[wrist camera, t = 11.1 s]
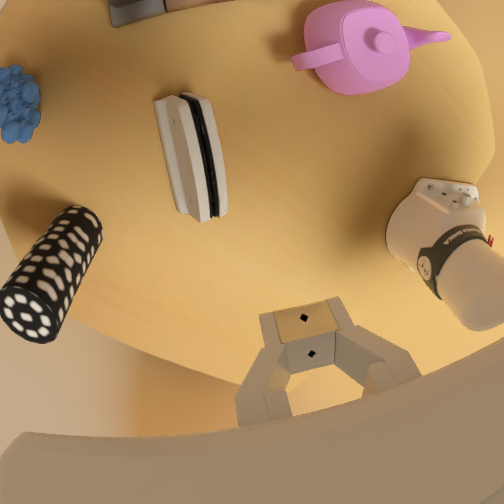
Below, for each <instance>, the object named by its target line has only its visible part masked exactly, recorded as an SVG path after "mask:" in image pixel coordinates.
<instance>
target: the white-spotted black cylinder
mask: <svg viewBox="0 0 504 504" xmlns="http://www.w3.org/2000/svg"><path fill="white" fill-rule="evenodd" d="M102 239H103V228H102V225H101V222H100V221H99V219H98V217H97V216H96V215H95V214H94V213H93V212H92V211H90V210H89V209H87V208H84V207H81V206H71V207H68V208H66V209H64V210H63V211H62V212H61V213H60V214H59V215H58V216H57V218H56V219H55V220H54V221H53V222H52V223H51V225H50V226H49V227H48V228H47V229H46V231H45V232H44V233H43V234H42V235H41V237H40V238H39V239H38V240H37V242H36V243H35V244H34V245H33V247H32V248H31V249H30V250H29V252H28V253H27V254H26V256H25V257H24V258H23V259H22V261H21V262H20V263H19V265H18V266H17V267H16V269H15V270H14V272H13V273H12V274H11V276H10V277H9V279H8V280H7V281H6V283H5V284H4V286H3V287H2V289H1V290H0V315H1V318H2V319H3V321H4V322H5V323H6V325H7V326H8V327H9V328H10V329H11V330H12V331H13V332H14V333H16V334H17V335H19V336H20V337H22V338H24V339H25V340H28V341H30V342H34V343H39V344H46V343H50V342H51V341H54V340H55V338H56V337H57V335H58V333H59V330H60V328H61V326H62V323H63V321H64V319H65V316H66V314H67V312H68V309H69V307H70V305H71V303H72V300H73V298H74V296H75V294H76V292H77V290H78V288H79V285H80V283H81V281H82V279H83V277H84V275H85V273H86V271H87V269H88V267H89V265H90V263H91V261H92V259H93V257H94V255H95V253H96V251H97V249H98V248H99V246H100V244H101V242H102Z"/></svg>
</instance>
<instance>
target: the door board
mask: <svg viewBox="0 0 504 504" xmlns="http://www.w3.org/2000/svg"><path fill="white" fill-rule="evenodd" d="M226 1H233V0H165V2H166V7H167V11H168V12H169V13H170V12H174V11H178V10H183V9H187V8H192V7H197V6H202V5H207V4H213V3H219V2H226ZM108 2H109V8H110V14H111V20H112V26H113V27H116V28H118V27H121V26H124V25H128V24H131V23H134V22H137V21H140V20H144V19H147V18H151V17H154V16H158V15H162V14H166V7H165V2H164V0H108Z"/></svg>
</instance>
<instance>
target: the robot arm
mask: <svg viewBox="0 0 504 504" xmlns="http://www.w3.org/2000/svg"><path fill="white" fill-rule="evenodd" d="M428 185H429V187H428ZM485 225H486V214H485V210H484V208H483V206H482V205H481V204H480V203H479V195H478V190H477V188H476V186H474V185H473V184H468V183H461V182H453V181H445V180H437V179H428V178H422V179H420V180H419V181H418V182H417V184H416V185H415V187H414V189H413V191H412V192H411V194H410V195H409V196H408V197H406V198H405V199H404V200H403V201H402V202H401V203H400V204H399V205H398V207H397V208H396V209H395V211H394V212H393V214H392V216H391V218H390V220H389V223H388V226H387V231H386V243H387V247H388V250H389V251H390V253H391V254H392V255H393V256H394V257H395V258H397V259H398V260H400V261H402V262H403V263H404V264H406V266H407V267H408V268H409V269H410V270H411V271H413V272H416V273H417V274H418V275H419V276H420V277H421V278H422V279H423V280H424V282H425V283H426V285H427V286H428V287H429V288H430V290H431V291H432V292H433V293H434V295H436V296H437V297H438V298H439V299H440V300H443V301H444V302H445V303H446V304H447V306H448V307H449V308H450V310H451V311H452V312H453V313H454V315H455V316H456V317H457V318H458V320H459V321H460V322H461V323H462V325H463V326H465V327H466V328H467V329H469V330H472V331H486V330H489V329H492V328H494V327H496V326H498V325H500V324H502V323H504V257H503V256H501V255H500V254H499V253H497V252H496V251H495V250H494V249H492V244H493V239H494V238H492V241H491V235H489V238H488V242H487V241H486V239H485V237H484V232H485ZM490 243H491V244H490ZM259 320H260V325H261V329H262V334H263V339H264V344H265V348H261V350H260V352H259V354H258V356H257V358H256V359H255V361H254V363H253V365H252V367H251V369H250V370H249V372H248V374H247V376H246V378H245V379H244V381H243V383H242V385H241V387H240V388H239V390H238V392H237V394H236V395H235V403H236V411H237V419H238V427H235V428H228V429H222V430H214V431H206V432H197V433H186V434H175V435H162V436H161V435H160V436H138V437H90V436H89V437H88V436H69V435H56V434H45V433H36V432H24V433H21V434H20V435H19V436H18V437H17V438H16V439H15V440H14V441H13V442H12V443H11V444H10V445H9V446H8V447H7V449H6V450H5V451H4V452H3V454H2V455H1V458H0V504H504V337H503V338H501V339H499V340H498V341H496V342H494V343H492V344H490V345H488V346H486V347H484V348H482V349H480V350H479V351H477V352H475V353H473V354H471V355H469V356H467V357H464V358H462V359H460V360H458V361H456V362H454V363H452V364H449V365H447V366H445V367H443V368H440V369H438V370H436V371H433V372H431V373H429V374H426V375H424V376H422V375H421V373H420V371H419V369H418V368H417V366H416V364H415V362H414V361H413V359H412V357H411V356H410V354H409V352H408V351H406V350H404V349H402V348H400V347H399V346H396V345H394V344H393V343H391V342H389V341H387V340H385V339H383V338H382V337H380V336H378V335H376V334H374V333H372V332H370V331H368V330H366V329H365V328H363V327H361V326H359V325H357V326H354V324H353V322H352V320H351V318H350V316H349V314H348V313H347V311H346V309H345V307H344V305H343V303H342V301H341V299H340V298H339V297H334V298H330V299H326V300H323V301H319V302H314V303H310V304H306V305H302V306H298V307H293V308H288V309H283V310H278V311H273V312H269V313H264V314H259ZM331 364H335V365H336V366H337V367H338V368H339V369H341V370H342V371H343V372H345V373H346V374H347V375H349V376H350V377H351V378H352V379H354V380H355V381H356V382H358V383H359V384H360V385H362V386H363V387H364V390H363V394H362V398H361V399H357V400H354V401H350V402H347V403H344V404H340V405H337V406H334V407H330V408H326V409H322V410H318V411H314V412H310V413H306V414H302V415H298V416H293V417H292V413H291V409H290V405H289V402H288V397H287V393H286V391H285V389H286V386H287V384H288V381H289V378H290V375H291V374H295V373H299V372H303V371H306V370H310V369H314V368H319V367H323V366H327V365H331Z"/></svg>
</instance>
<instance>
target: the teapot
mask: <svg viewBox="0 0 504 504" xmlns="http://www.w3.org/2000/svg"><path fill="white" fill-rule="evenodd" d="M450 38H451V36H450V34H449V33H447V32H443V31H426V30H421V29H416V28H412V27H405V26H401V24H400V22H399V20H398V19H397V18H396V16H395V15H394V14H393V13H392V12H391V11H390V10H388V9H387V8H385V7H383V6H381V5H379V4H377V3H375V2H371V1H366V0H344V1H337V2H333V3H329V4H326V5H324V6H321V7H319V8H316V9H315V10H313V11H312V12H311V13H310V14H309V15H308V17H307V18H306V21H305V25H304V42H305V47H306V51H305V52H302V53H300V54H297V55H294V56H292V57H290V58H291V61H292V63H293V65H294V67H295V70H296V71H299V70H305V69H310V68H314V70H315V72H316V73H317V75H318V76H319V78H320V79H321V80H322V81H323V82H324V84H325V85H326V86H327V87H328V88H330V89H331V90H332V91H334V92H336V93H339V94H343V95H359V94H367V93H371V92H376V91H379V90H382V89H384V88H386V87H389V86H391V85H393V84H395V83H397V82H398V81H399V80H400V79H402V78H403V77H404V76H405V74H406V73H407V71H408V69H409V66H410V50H411V49H415V48H417V47H420V46H423V45H425V44H428V43H433V42H445V41H448V40H450Z"/></svg>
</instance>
